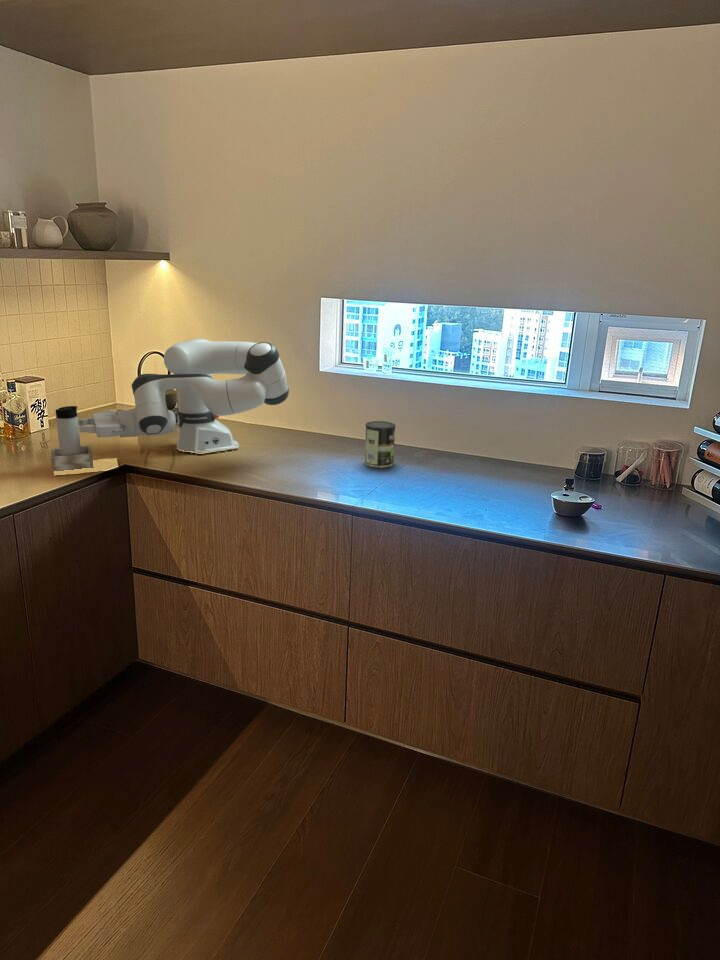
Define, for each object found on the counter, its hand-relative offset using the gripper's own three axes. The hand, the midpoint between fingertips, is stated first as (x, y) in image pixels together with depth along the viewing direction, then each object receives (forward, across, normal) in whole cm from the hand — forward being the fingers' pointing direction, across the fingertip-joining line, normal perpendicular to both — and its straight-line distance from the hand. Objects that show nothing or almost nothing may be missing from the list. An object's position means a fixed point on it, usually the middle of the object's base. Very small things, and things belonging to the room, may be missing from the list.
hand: (78, 425), depth 216 cm
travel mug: (+3, 0, -14) cm, 14 cm away
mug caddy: (-1, +1, -14) cm, 14 cm away
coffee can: (-95, -26, -13) cm, 99 cm away
